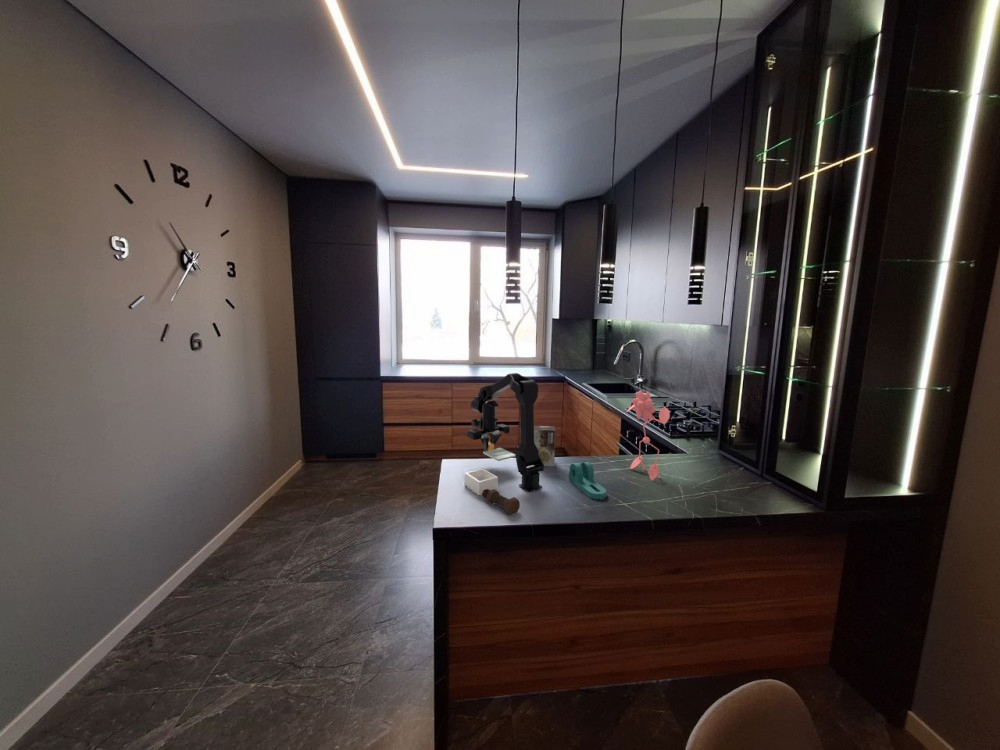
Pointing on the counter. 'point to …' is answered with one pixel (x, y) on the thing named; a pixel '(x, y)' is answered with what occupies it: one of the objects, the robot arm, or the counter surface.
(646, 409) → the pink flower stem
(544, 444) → the coffee box
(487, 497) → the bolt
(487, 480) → the parts tub
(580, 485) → the bracket
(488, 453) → the lid
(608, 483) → the counter surface
